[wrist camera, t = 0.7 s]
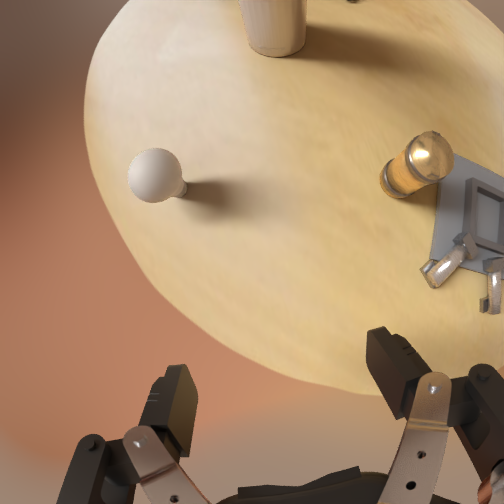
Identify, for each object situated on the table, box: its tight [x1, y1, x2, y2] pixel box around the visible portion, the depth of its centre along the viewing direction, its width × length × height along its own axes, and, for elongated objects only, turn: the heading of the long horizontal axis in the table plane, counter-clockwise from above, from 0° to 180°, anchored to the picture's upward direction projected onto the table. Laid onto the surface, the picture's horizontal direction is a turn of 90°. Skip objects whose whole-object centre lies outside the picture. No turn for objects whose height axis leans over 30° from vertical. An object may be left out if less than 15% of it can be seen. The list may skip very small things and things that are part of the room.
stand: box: [429, 153, 504, 280], centre depth 29 cm, size 16×18×3 cm
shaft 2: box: [480, 257, 504, 314], centre depth 29 cm, size 8×3×4 cm, turn 8°
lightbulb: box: [128, 148, 187, 203], centre depth 31 cm, size 6×6×11 cm
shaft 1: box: [420, 232, 479, 288], centre depth 30 cm, size 8×3×4 cm, turn 128°
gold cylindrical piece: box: [380, 131, 454, 198], centre depth 27 cm, size 5×5×12 cm
